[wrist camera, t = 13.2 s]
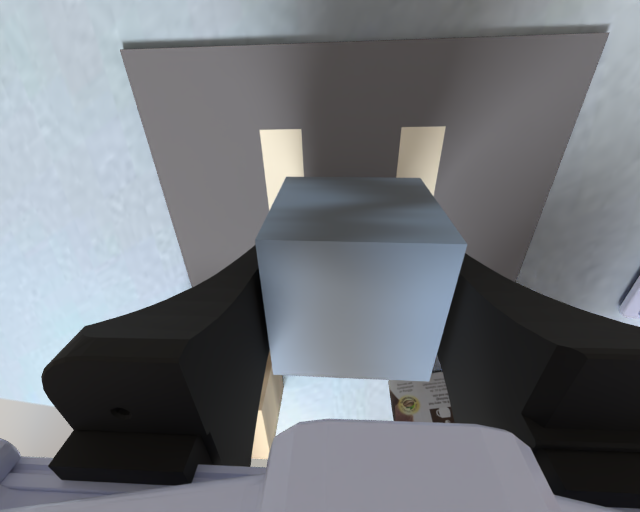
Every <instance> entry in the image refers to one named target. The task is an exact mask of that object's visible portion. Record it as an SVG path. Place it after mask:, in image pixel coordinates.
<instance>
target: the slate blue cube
mask: <svg viewBox="0 0 640 512" xmlns="http://www.w3.org/2000/svg"><path fill="white" fill-rule="evenodd" d="M255 243H256V251H257V258H258V266H259V273H260V281H261V288H262V295H263V303H264V310H265V318H266V325H267V332H268V340H269V347H270V355H271V362H272V369H273V375H290V376H313V377H335V378H358V379H381V380H404V381H427V382H429V381H430V377H431V374H432V370H433V366H434V363H435V359H436V356H437V352H438V348H439V345H440V341H441V338H442V334H443V330H444V327H445V323H446V320H447V316H448V312H449V309H450V305H451V302H452V298H453V294H454V291H455V287H456V284H457V280H458V276H459V273H460V269H461V266H462V262H463V258H464V255H465V251H466V248H467V243H466V242H465V240H464V239H463V237H462V236H461V235H460V233H459V232H458V230H457V229H456V227H455V226H454V225H453V223H452V222H451V220H450V219H449V218H448V216H447V215H446V213H445V212H444V211H443V209H442V208H441V206H440V205H439V203H438V202H437V201H436V199H435V198H434V196H433V195H432V194H431V192H430V191H429V189H428V188H427V187H426V185H425V184H424V182H423V181H422V179H421V178H384V177H286V178H285V180H284V182H283V184H282V186H281V188H280V190H279V192H278V194H277V196H276V198H275V200H274V202H273V204H272V206H271V208H270V211H269V213H268V215H267V217H266V219H265V221H264V223H263V225H262V227H261V229H260V231H259V233H258V235H257V237H256V239H255Z"/></svg>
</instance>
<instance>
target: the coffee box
mask: <svg viewBox="0 0 640 512" xmlns="http://www.w3.org/2000/svg"><path fill="white" fill-rule="evenodd" d="M388 384H389V391H390V398H391V405H392V412H393V419H394V421H404V422H432V423H455V422H454V418H453V413H452V409H451V405H450V400H449V396H448V392H447V388H446V384H445V380H444V376H443V372H436V373H432V374H431V377H430V381H429V382H427V381H404V380H389V381H388Z"/></svg>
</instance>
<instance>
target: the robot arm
mask: <svg viewBox="0 0 640 512" xmlns="http://www.w3.org/2000/svg"><path fill="white" fill-rule="evenodd" d="M619 312H620V313H621V314H622V315H623V316H624V317H626V318H640V276H639V277H638V279H637V280H636V282H635V284H634V285H633V287H632V288H631V290H630V291H629V293H628V295H627V296H626V298H625V299H624V301H623V303H622V304H621V306H620V308H619ZM269 351H270V347H269V340H268V332H267V325H266V318H265V310H264V303H263V295H262V288H261V281H260V273H259V266H258V258H257V251H256V245H254V246H253V247H252V248H251V249H250V250H248V251H247V252H246V253H244V254H243V255H242V256H241V257H239V258H238V259H237V260H235V261H234V262H233V263H231V264H230V265H228V266H227V267H225V268H224V269H223V270H221V271H220V272H218V273H217V274H215V275H214V276H212V277H210V278H209V279H207V280H205V281H203V282H202V283H200V284H198V285H196V286H194V287H192V288H190V289H188V290H186V291H184V292H182V293H180V294H178V295H175V296H173V297H171V298H169V299H167V300H164V301H162V302H159V303H157V304H154V305H152V306H149V307H146V308H144V309H141V310H138V311H135V312H132V313H129V314H126V315H123V316H120V317H116V318H113V319H109V320H106V321H103V322H99V323H96V324H92V325H88V326H85V327H84V328H83V329H82V330H81V331H80V332H79V333H78V334H77V335H76V336H75V337H74V338H73V339H72V340H71V341H70V342H69V343H68V344H67V345H66V346H65V347H64V348H63V349H62V350H61V351H60V352H59V354H58V355H57V356H56V357H55V358H54V359H53V360H52V361H51V362H50V363H49V364H48V365H47V366H46V367H45V368H44V371H43V373H42V376H41V378H42V384H43V389H44V391H45V393H46V394H47V396H48V398H49V399H50V401H51V402H52V403H53V404H54V406H55V407H56V408H57V410H58V411H59V412H60V413H61V415H62V416H63V417H64V418H65V420H66V421H67V422H68V423H69V424H70V426H71V427H72V428H73V430H74V431H73V432H72V433H71V435H70V436H69V438H68V439H67V441H66V442H65V443H64V445H63V446H62V447H61V449H60V450H59V451H58V453H57V454H56V455H55V457H54V458H45V457H23V456H21V455H20V452H19V451H18V450H17V449H16V448H15V447H14V446H13V445H12V444H11V443H9V442H8V441H6V440H4V439H1V438H0V512H640V327H637V326H634V325H630V324H626V323H622V322H619V321H616V320H612V319H609V318H606V317H603V316H600V315H596V314H593V313H590V312H587V311H584V310H581V309H578V308H575V307H573V306H570V305H567V304H565V303H562V302H560V301H557V300H554V299H552V298H549V297H547V296H544V295H542V294H540V293H537V292H535V291H533V290H531V289H529V288H526V287H524V286H522V285H520V284H518V283H516V282H514V281H512V280H510V279H508V278H506V277H504V276H502V275H501V274H499V273H497V272H495V271H494V270H492V269H490V268H488V267H487V266H485V265H483V264H482V263H480V262H478V261H477V260H475V259H474V258H472V257H471V256H469V255H468V254H466V253H465V255H464V258H463V262H462V266H461V269H460V273H459V276H458V280H457V284H456V287H455V291H454V294H453V298H452V302H451V305H450V309H449V312H448V316H447V320H446V323H445V327H444V330H443V334H442V338H441V341H440V345H439V348H438V352H437V355H438V358H439V361H440V364H441V368H442V372H443V376H444V380H445V384H446V388H447V392H448V396H449V400H450V405H451V409H452V413H453V418H454V422H455V423H432V422H404V421H376V420H348V419H322V420H314V421H306V422H299V423H297V424H296V425H294V426H292V427H290V428H289V429H287V430H285V431H283V432H282V433H280V434H278V435H277V436H275V437H274V439H273V442H272V445H271V449H270V452H269V456H268V462H267V467H266V468H265V467H250V465H251V458H252V450H253V443H254V436H255V429H256V423H257V416H258V410H259V404H260V398H261V392H262V386H263V380H264V375H265V369H266V363H267V359H268V355H269Z"/></svg>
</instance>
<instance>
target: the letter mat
mask: <svg viewBox="0 0 640 512" xmlns="http://www.w3.org/2000/svg"><path fill="white" fill-rule="evenodd" d="M608 35H609V33H581V34H553V35H524V36H495V37H467V38H438V39H409V40H381V41H352V42H324V43H295V44H266V45H238V46H209V47H181V48H152V49H123V50H120V52H121V55H122V59H123V62H124V65H125V68H126V72H127V75H128V78H129V82H130V85H131V88H132V91H133V95H134V98H135V101H136V105H137V108H138V111H139V114H140V118H141V121H142V124H143V128H144V131H145V134H146V138H147V141H148V144H149V147H150V151H151V154H152V157H153V161H154V164H155V167H156V170H157V174H158V177H159V180H160V184H161V187H162V190H163V193H164V197H165V200H166V203H167V207H168V210H169V213H170V217H171V220H172V223H173V226H174V230H175V233H176V236H177V240H178V243H179V246H180V249H181V253H182V256H183V259H184V263H185V266H186V269H187V272H188V276H189V279H190V282H191V286H192V287H194V286H196V285H198V284H200V283H202V282H203V281H205V280H207V279H209V278H210V277H212V276H214V275H215V274H217V273H218V272H220V271H221V270H223V269H224V268H225V267H227V266H228V265H230V264H231V263H233V262H234V261H235V260H237V259H238V258H239V257H241V256H242V255H243V254H244V253H246V252H247V251H248V250H250V249H251V248H252V247H253V246H254V245H256V243H255V239H256V237H257V235H258V233H259V231H260V229H261V227H262V225H263V223H264V221H265V219H266V217H267V215H268V213H269V211H270V208H271V206H272V204H273V202H274V200H275V198H276V196H277V194H278V192H279V190H280V188H281V186H282V184H283V182H284V180H285V178H286V177H384V178H421V179H422V181H423V182H424V184H425V185H426V187H427V188H428V189H429V191H430V192H431V194H432V195H433V196H434V198H435V199H436V201H437V202H438V203H439V205H440V206H441V208H442V209H443V211H444V212H445V213H446V215H447V216H448V218H449V219H450V220H451V222H452V223H453V225H454V226H455V227H456V229H457V230H458V232H459V233H460V235H461V236H462V237H463V239H464V240H465V242H466V243H467V248H466V251H465V253H466V254H468V255H469V256H471V257H472V258H474V259H475V260H477V261H478V262H480V263H482V264H483V265H485V266H487V267H488V268H490V269H492V270H494V271H495V272H497V273H499V274H501V275H502V276H504V277H506V278H508V279H510V280H512V281H514V282H516V279H517V276H518V274H519V271H520V268H521V266H522V263H523V260H524V258H525V255H526V252H527V250H528V247H529V245H530V242H531V239H532V237H533V234H534V231H535V229H536V226H537V223H538V221H539V218H540V215H541V213H542V210H543V207H544V205H545V202H546V199H547V197H548V194H549V192H550V189H551V186H552V184H553V181H554V178H555V176H556V173H557V170H558V168H559V165H560V162H561V160H562V157H563V154H564V152H565V149H566V147H567V144H568V141H569V139H570V136H571V133H572V131H573V128H574V125H575V123H576V120H577V117H578V115H579V112H580V109H581V107H582V104H583V102H584V99H585V96H586V94H587V91H588V88H589V86H590V83H591V80H592V78H593V75H594V72H595V70H596V67H597V64H598V62H599V59H600V56H601V54H602V51H603V49H604V46H605V43H606V41H607V38H608Z"/></svg>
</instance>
